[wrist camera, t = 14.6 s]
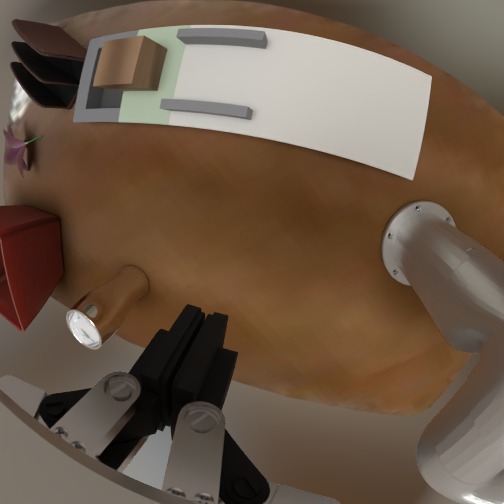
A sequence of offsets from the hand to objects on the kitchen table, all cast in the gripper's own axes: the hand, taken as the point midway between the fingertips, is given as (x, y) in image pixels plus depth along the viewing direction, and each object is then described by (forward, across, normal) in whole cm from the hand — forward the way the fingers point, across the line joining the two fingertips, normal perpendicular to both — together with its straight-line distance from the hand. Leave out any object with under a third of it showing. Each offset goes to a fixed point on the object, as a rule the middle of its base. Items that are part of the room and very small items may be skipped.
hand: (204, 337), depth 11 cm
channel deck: (+27, +8, -15) cm, 32 cm away
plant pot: (+27, +45, +16) cm, 55 cm away
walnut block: (+23, +20, -15) cm, 34 cm away
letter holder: (+28, +42, -20) cm, 54 cm away
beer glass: (+27, +20, +18) cm, 38 cm away
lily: (+27, +49, -4) cm, 56 cm away
